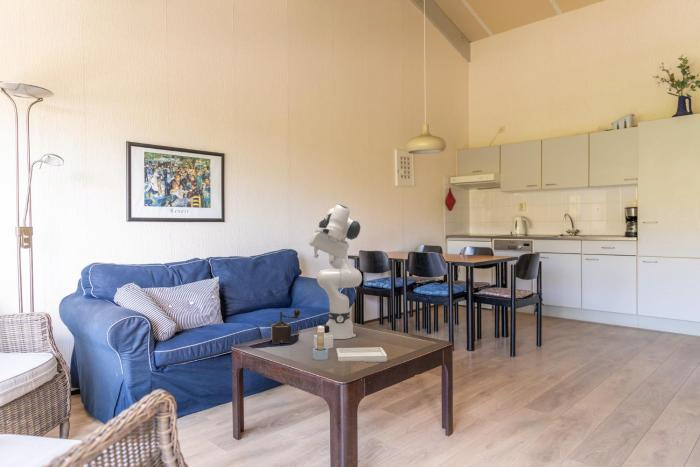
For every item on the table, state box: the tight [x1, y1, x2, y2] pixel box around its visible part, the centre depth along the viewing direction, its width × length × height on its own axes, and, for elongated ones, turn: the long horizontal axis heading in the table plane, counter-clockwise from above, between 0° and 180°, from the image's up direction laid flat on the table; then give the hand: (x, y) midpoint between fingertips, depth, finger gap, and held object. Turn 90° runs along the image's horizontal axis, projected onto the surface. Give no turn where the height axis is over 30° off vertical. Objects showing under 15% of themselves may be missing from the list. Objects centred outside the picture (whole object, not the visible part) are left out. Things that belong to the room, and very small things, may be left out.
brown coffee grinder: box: [270, 308, 302, 343], centre depth 250 cm, size 16×11×18 cm
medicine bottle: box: [313, 324, 334, 350], centre depth 232 cm, size 7×7×12 cm
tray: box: [336, 346, 388, 364], centre depth 215 cm, size 16×22×3 cm
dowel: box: [316, 330, 324, 351], centre depth 211 cm, size 3×3×12 cm
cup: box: [312, 347, 329, 361], centre depth 211 cm, size 7×7×5 cm
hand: (323, 261), depth 225 cm, fingers open, 8 cm apart
